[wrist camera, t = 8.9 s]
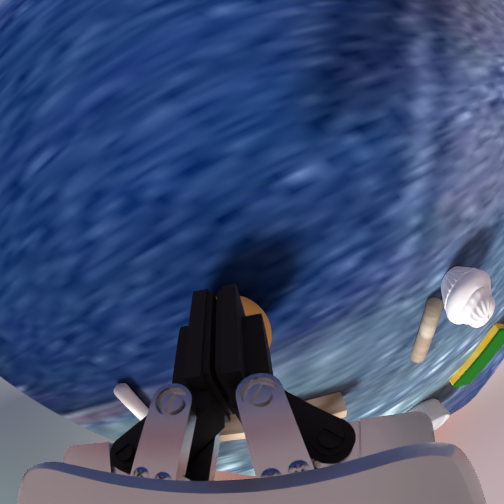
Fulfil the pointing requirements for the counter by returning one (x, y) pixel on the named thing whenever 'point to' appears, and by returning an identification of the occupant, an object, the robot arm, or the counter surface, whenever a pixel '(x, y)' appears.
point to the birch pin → (427, 329)
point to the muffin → (467, 296)
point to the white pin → (131, 400)
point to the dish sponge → (480, 357)
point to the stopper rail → (327, 403)
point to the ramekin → (433, 411)
